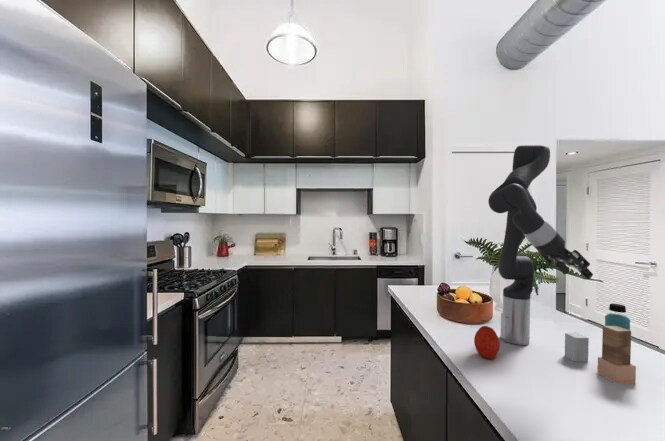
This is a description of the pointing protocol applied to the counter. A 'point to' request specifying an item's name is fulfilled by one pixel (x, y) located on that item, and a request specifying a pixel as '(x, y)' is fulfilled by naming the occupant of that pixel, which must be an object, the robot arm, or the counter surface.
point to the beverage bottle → (617, 317)
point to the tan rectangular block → (616, 345)
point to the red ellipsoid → (487, 342)
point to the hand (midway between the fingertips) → (577, 274)
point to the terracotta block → (617, 371)
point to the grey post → (576, 347)
